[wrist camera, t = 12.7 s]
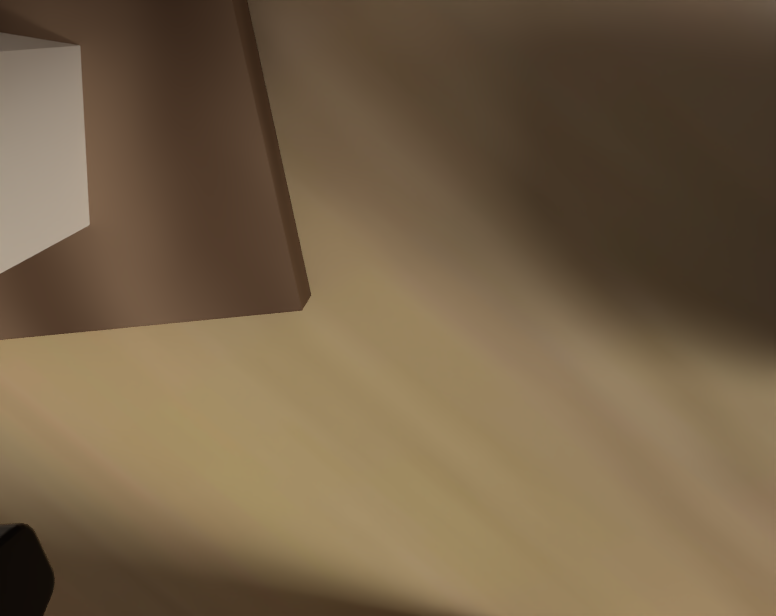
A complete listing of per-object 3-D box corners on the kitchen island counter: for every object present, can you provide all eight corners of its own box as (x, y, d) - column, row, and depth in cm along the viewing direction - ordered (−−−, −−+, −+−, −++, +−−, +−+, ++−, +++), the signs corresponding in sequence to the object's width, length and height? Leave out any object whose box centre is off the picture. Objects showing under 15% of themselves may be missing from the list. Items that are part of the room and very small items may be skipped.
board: (203, -200, 16) (182, -216, 15) (311, 295, 21) (301, 310, 20) (-295, -78, 18) (-343, -84, 17) (-93, 336, 23) (-121, 351, 22)
